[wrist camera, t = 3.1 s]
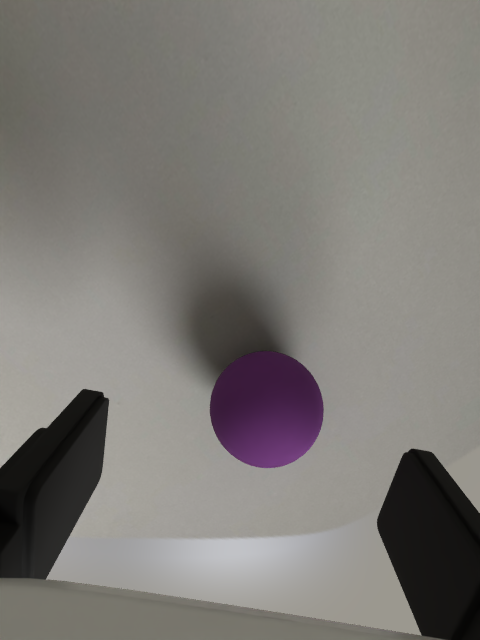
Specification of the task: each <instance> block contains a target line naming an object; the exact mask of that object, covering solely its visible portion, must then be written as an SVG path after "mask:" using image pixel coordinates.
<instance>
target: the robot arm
mask: <svg viewBox="0 0 480 640" xmlns="http://www.w3.org/2000/svg"><path fill="white" fill-rule="evenodd" d="M108 406H109V399H108V398H104V395H103V392H98V391H93V390H87V389H83V390H82V391H81V392H80V393H79V394H78V395H77V396H76V397H75V398H74V399H73V400H72V402H71V403H70V404H69V405H68V406H67V407H66V408H65V409H64V410H63V411H62V412H61V414H60V415H59V416H58V417H57V418H56V419H55V420H54V421H53V422H52V423H51V424H50V426H49V427H48V428H40V429H38V430H37V431H36V432H34V434H33V435H32V436H31V437H30V438H29V439H28V440H27V441H26V442H25V443H24V444H23V445H22V446H21V447H20V448H19V449H18V450H17V451H16V452H15V453H14V454H13V455H12V457H11V458H10V459H9V460H8V461H7V462H6V463H5V464H4V465H3V466H2V467H1V468H0V640H480V513H479V512H478V511H477V509H476V508H475V507H474V506H473V504H472V503H471V502H470V500H469V499H468V498H467V497H466V495H465V494H464V493H463V491H462V490H461V489H460V487H459V486H458V485H457V484H456V482H455V481H454V480H453V478H452V477H451V476H450V475H449V473H448V472H447V471H446V469H445V468H444V467H443V466H442V464H441V463H440V462H439V460H438V459H437V458H436V456H435V455H434V454H433V453H432V452H429V451H423V450H418V449H410V450H409V451H408V452H406V453H404V454H403V456H402V458H401V461H400V463H399V466H398V468H397V471H396V473H395V476H394V478H393V481H392V483H391V486H390V488H389V491H388V493H387V496H386V498H385V501H384V503H383V506H382V508H381V511H380V513H379V516H378V519H377V527H378V531H379V534H380V536H381V538H382V541H383V543H384V546H385V548H386V550H387V553H388V555H389V558H390V560H391V562H392V565H393V567H394V570H395V572H396V574H397V577H398V579H399V582H400V584H401V586H402V589H403V591H404V593H405V596H406V598H407V601H408V603H409V606H410V608H411V610H412V613H413V615H414V618H415V620H416V623H417V625H418V627H419V630H420V632H421V635H422V636H420V635H414V634H408V633H402V632H396V631H390V630H384V629H378V628H371V627H366V626H360V625H353V624H347V623H341V622H335V621H328V620H322V619H316V618H310V617H303V616H297V615H290V614H284V613H277V612H271V611H265V610H258V609H253V608H246V607H240V606H233V605H227V604H220V603H214V602H207V601H201V600H194V599H187V598H181V597H174V596H167V595H161V594H154V593H148V592H141V591H134V590H128V589H120V588H112V587H105V586H97V585H90V584H82V583H74V582H67V581H57V580H46V578H47V576H48V574H49V572H50V571H51V569H52V567H53V565H54V563H55V561H56V559H57V558H58V556H59V554H60V552H61V550H62V548H63V547H64V545H65V543H66V541H67V539H68V538H69V536H70V534H71V532H72V530H73V528H74V526H75V525H76V523H77V521H78V519H79V517H80V515H81V514H82V512H83V510H84V508H85V506H86V504H87V503H88V501H89V499H90V497H91V495H92V493H93V492H94V490H95V488H96V486H97V484H98V482H99V480H100V477H101V473H102V467H103V457H104V447H105V437H106V426H107V416H108Z"/></svg>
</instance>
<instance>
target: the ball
mask: <svg viewBox="0 0 480 640" xmlns="http://www.w3.org/2000/svg"><path fill="white" fill-rule="evenodd" d="M323 410H324V409H323V400H322V396H321V392H320V389H319V386H318V384H317V383H316V381H315V379H314V377H313V376H312V375H311V373H310V372H309V371H308V370H307V369H306V368H305V367H304V366H303V365H302V364H301V363H299V362H298V361H297V360H295V359H293V358H291V357H289V356H287V355H285V354H282V353H278V352H272V351H260V352H254V353H250V354H247V355H244V356H242V357H240V358H238V359H237V360H235V361H234V362H232V363H231V364H230V365H229V366H228V367H227V368H226V369H225V370H224V371H223V372H222V373H221V375H220V376H219V378H218V380H217V381H216V384H215V386H214V388H213V391H212V395H211V402H210V416H211V422H212V426H213V429H214V431H215V434H216V436H217V438H218V440H219V441H220V442H221V444H222V445H223V447H224V448H225V449H226V450H227V451H228V452H229V453H230V454H231V455H233V456H234V457H235V458H237V459H238V460H240V461H242V462H244V463H246V464H249V465H251V466H255V467H261V468H275V467H280V466H284V465H287V464H289V463H292V462H294V461H295V460H297V459H299V458H300V457H301V456H302V455H304V454H305V453H306V452H307V451H308V450H309V449H310V448H311V446H312V445H313V443H314V442H315V440H316V438H317V437H318V435H319V432H320V429H321V426H322V421H323Z"/></svg>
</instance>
